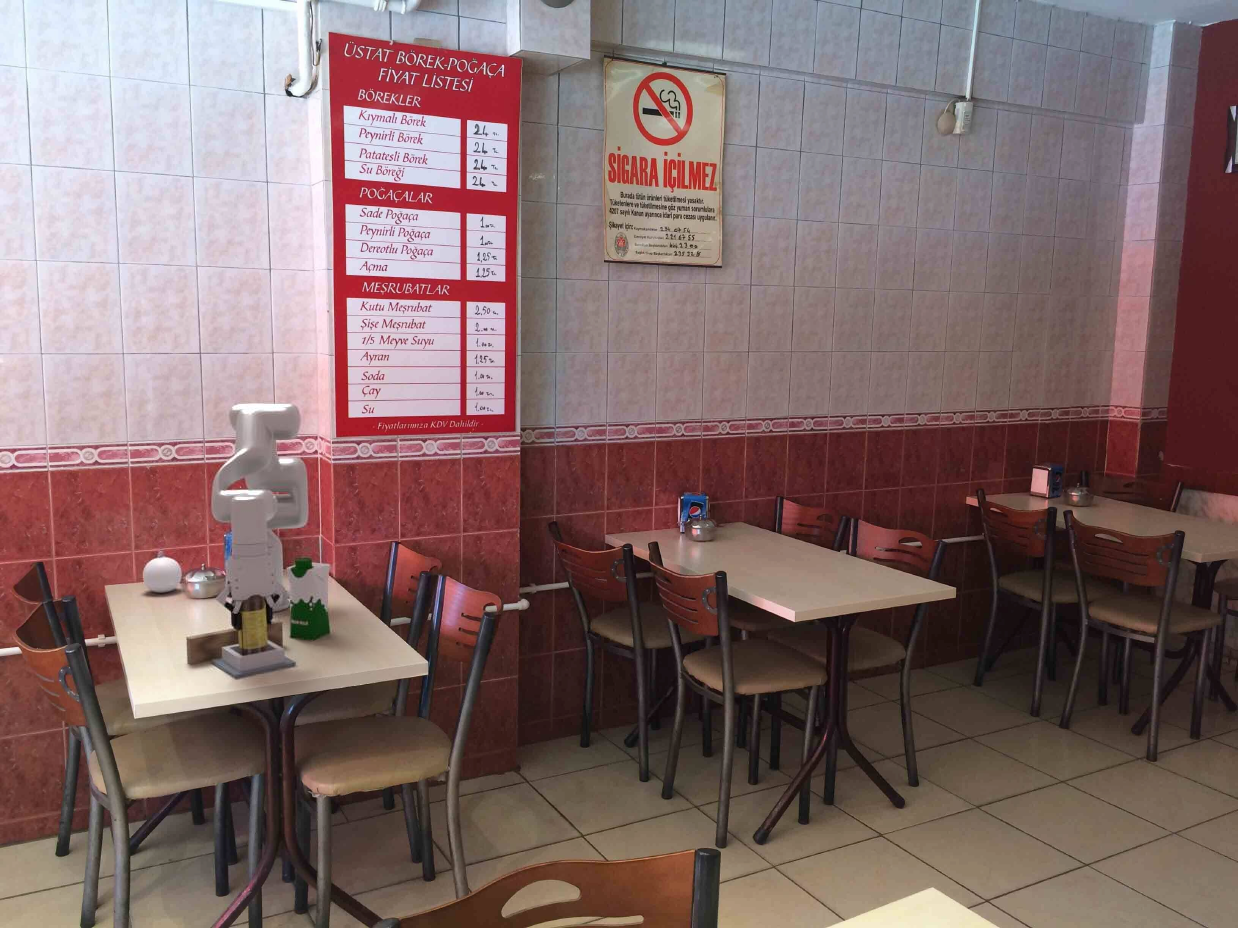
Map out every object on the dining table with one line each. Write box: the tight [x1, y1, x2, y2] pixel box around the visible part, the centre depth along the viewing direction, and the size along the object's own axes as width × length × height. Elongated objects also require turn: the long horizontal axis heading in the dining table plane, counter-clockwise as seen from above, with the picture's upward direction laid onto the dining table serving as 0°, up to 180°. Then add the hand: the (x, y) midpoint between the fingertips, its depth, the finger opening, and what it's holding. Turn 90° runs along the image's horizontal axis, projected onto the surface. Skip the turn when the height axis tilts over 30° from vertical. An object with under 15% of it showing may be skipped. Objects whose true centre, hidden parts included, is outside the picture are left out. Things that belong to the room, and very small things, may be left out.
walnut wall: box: [185, 619, 284, 665], centre depth 236 cm, size 22×2×6 cm, turn 132°
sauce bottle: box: [238, 595, 268, 656], centre depth 228 cm, size 6×6×20 cm
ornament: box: [142, 550, 183, 594], centre depth 291 cm, size 10×10×12 cm
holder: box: [210, 640, 297, 680], centre depth 229 cm, size 14×14×4 cm
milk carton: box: [286, 557, 331, 641], centre depth 251 cm, size 9×9×20 cm
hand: (252, 625), depth 228 cm, fingers closed on sauce bottle, 6 cm apart
